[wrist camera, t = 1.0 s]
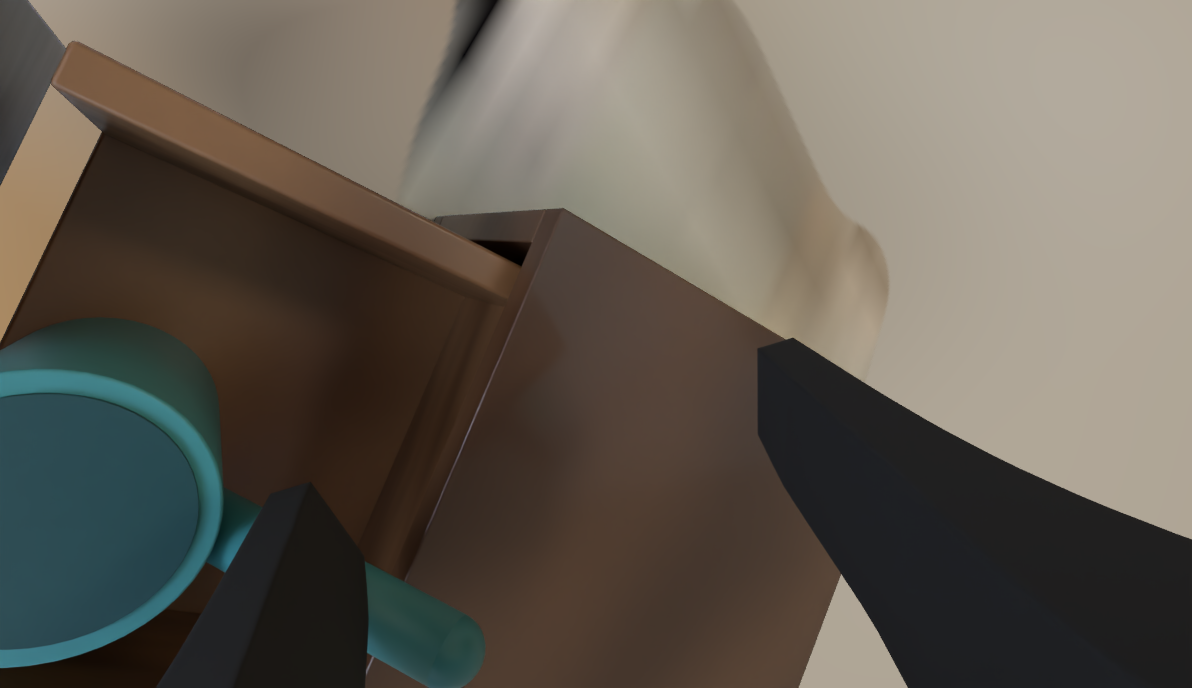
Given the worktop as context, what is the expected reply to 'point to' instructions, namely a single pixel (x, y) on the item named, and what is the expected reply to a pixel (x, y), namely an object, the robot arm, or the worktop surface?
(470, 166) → the worktop surface
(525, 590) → the cabinet
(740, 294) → the worktop surface
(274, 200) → the drawer
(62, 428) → the scoop
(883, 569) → the robot arm
